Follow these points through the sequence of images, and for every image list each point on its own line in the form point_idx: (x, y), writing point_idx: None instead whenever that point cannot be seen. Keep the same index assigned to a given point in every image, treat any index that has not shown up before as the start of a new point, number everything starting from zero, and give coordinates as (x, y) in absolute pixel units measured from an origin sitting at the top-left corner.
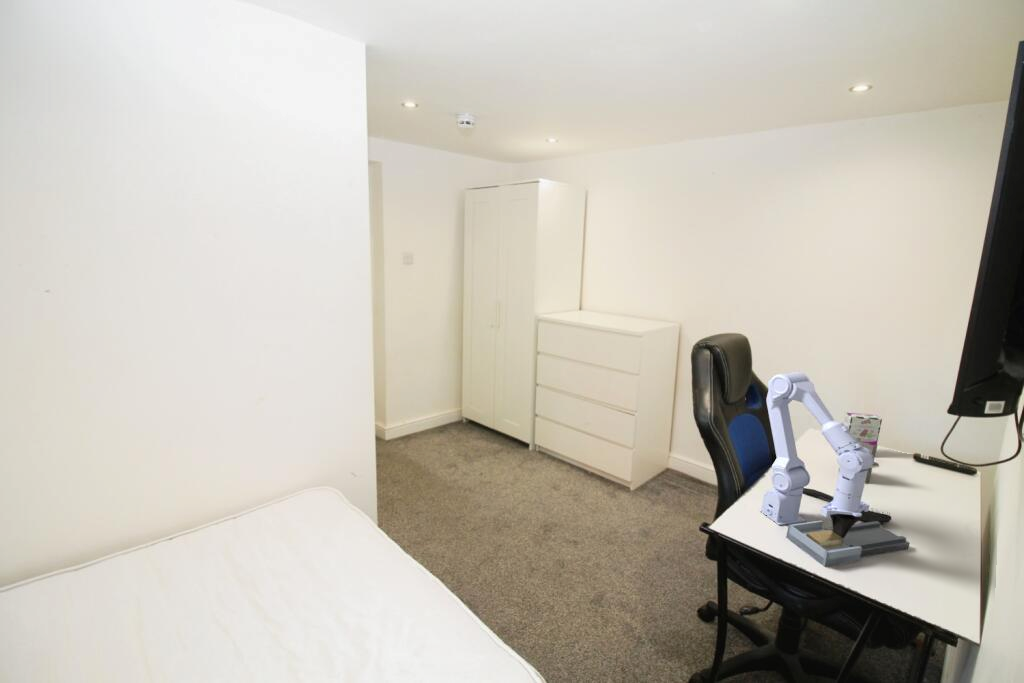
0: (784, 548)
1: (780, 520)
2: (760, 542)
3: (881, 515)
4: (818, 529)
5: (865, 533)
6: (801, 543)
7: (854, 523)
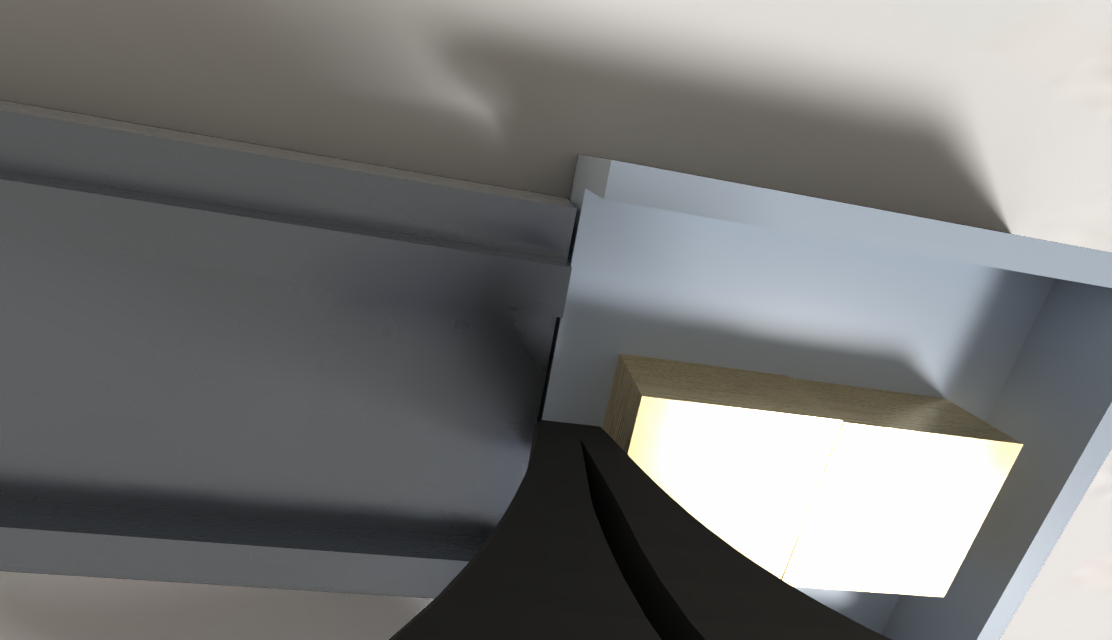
0: None
1: None
2: (1086, 603)
3: None
4: None
5: (31, 411)
6: None
7: (480, 572)
